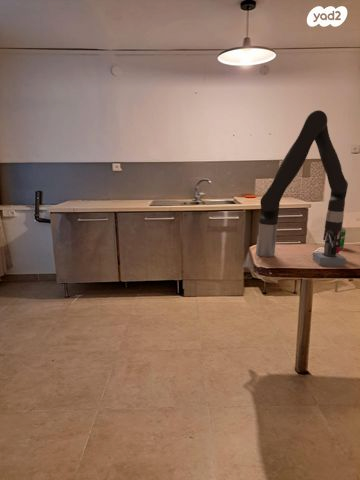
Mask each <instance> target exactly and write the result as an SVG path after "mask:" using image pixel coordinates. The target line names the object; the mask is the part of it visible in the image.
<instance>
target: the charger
mask: <svg viewBox="0 0 360 480" xmlns="http://www.w3.org/2000/svg"><path fill="white" fill-rule="evenodd" d="M324 246H325V249H324V248H323V250H324V251H323V253H324V256H326V257H335V255H331V248H332V244H331V243H325V242H324Z"/></svg>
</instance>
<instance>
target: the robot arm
mask: <svg viewBox="0 0 360 480" xmlns="http://www.w3.org/2000/svg"><path fill="white" fill-rule="evenodd" d="M314 141H315V144H316V147H317V150H318V153H319V157H320V161H321V164H322V167H323V169H324V172H325V175H326V177H327V182H328V185H329V187H330V196H329V197H330V198H329V200H328V205H327V212H326V215H325V223H324V231H323V232H324V234H323V238H322V240H323V241H324V244H325V243H329V242H330V243H331V244H332V248H331V255H336V251H337V248H338V247H340V241H341V235H338V231H341V230H342V227H343V224H344V223H343V222H344V218H345V217H344V216H345V212H344V211H345V208H346V207H345V205H346V197H347V193H348V186H349V183H348V180H347V179H346V178H345V176H344V172H343V171H342V170H343V168H342V164H341V162H340V159H339V156H338V153H337V152H336V149H335V147H334V145H333V143H332V140H331V137H330V134H329V129H328V116H327V114H326V113H325V112H324V111H323V110H320V109H319V110H314V111H312V112H310V113H309V114H308V115H307V117H306V118H305V121H304V123H303V125H302V128H301V130H300V132H299V134H298V136H297V137H296V139H295V141H294V142H293V144H292V145H291V147H290V148H289V150H288V152H286V155H285V156H284V158H283V160H282V162H281V164H280V165H279V167H278V169H277V171H276V174H275V176H274V179H273V181H272V182H271V184H270V186H269V187H268V188H267V190H266V192H265V193H264V194H263V196H261V198H260V215H259V219H258V220H259V221H258V235H257V236H256V249H255V254H256V255H257V256H258V257H262V258H263V257H264V258H272V257H275V254H276V253H275V252H276V242H277V241H276V240H277V232H278V231H277V230H278V223H279V212H280V202H281V200H282V197H283V195H284V193H285V191H286V190H287V188H288V187H289V186H290V185H291V183H292V182H293V181H294V179H295V177H297V175H298V174H299V172H300V170H301V169H302V167H303V165H304V163H305V161H306V159H307V157H308V154H309V152H310V149H311V148H312V145H313V143H314ZM323 247H324V248H323V250H324V249H325V245H324V246H323Z"/></svg>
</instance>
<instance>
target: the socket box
mask: <svg viewBox="0 0 360 480" xmlns="http://www.w3.org/2000/svg"><path fill="white" fill-rule="evenodd" d="M312 260H313V261H314V262H315V263H316V264H317V265H318V266H322V267H323V266H327V267H345V266H346V261H347V258H345V257H344V256H343V255H342V254H340V252H339V253H336V255H335V257H326V256H324V252H318V251H313V257H312Z"/></svg>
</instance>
